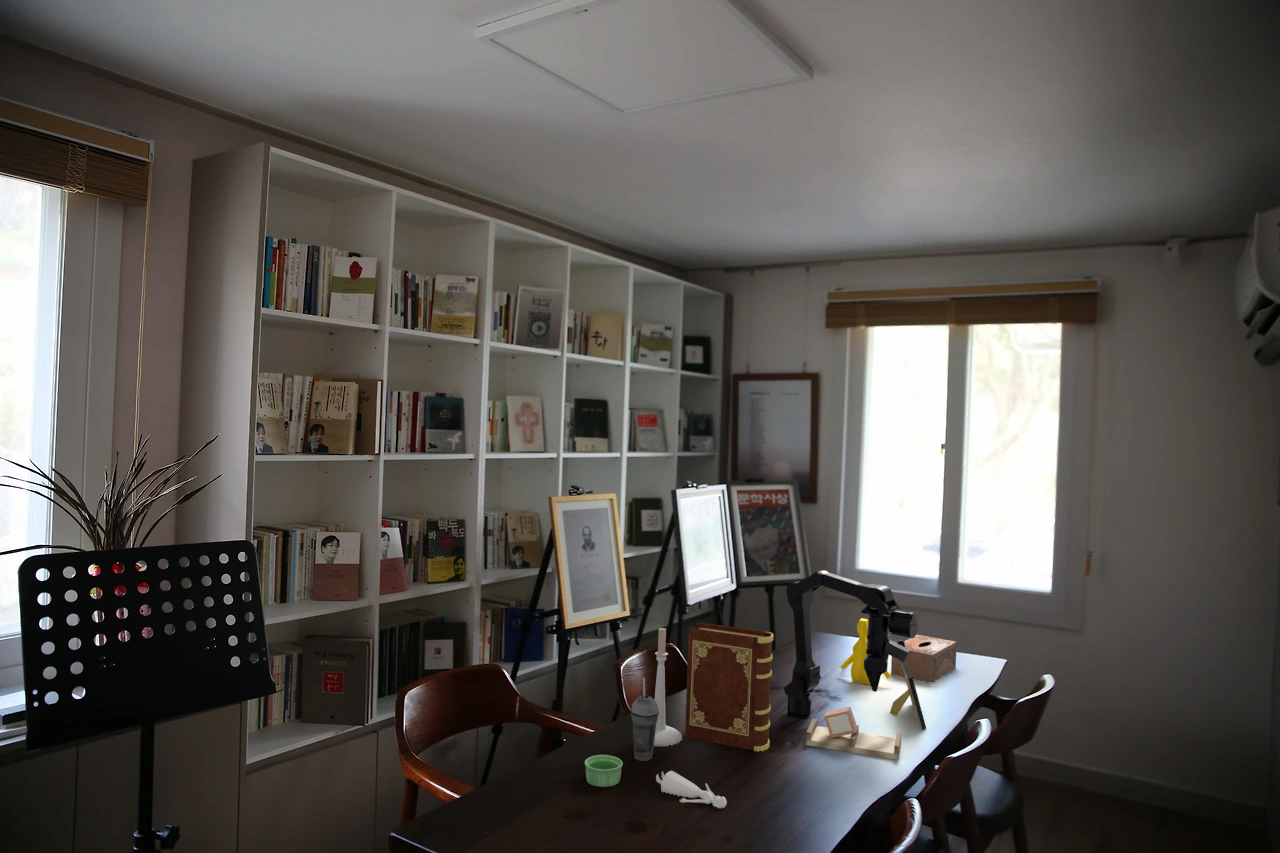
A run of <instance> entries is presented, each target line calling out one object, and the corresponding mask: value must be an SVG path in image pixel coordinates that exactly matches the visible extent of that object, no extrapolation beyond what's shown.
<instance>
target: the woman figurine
mask: <svg viewBox="0 0 1280 853" xmlns="http://www.w3.org/2000/svg"><path fill="white" fill-rule="evenodd" d="M655 778H656V779H655V782H657V783H658V784H660V788H661V792H662V793H664V792H665V794H668V793H669V794H668V795H672V794H673V795H672V796H675V795H677V796H676V797H680V796H682V797H681V799H680V800H679V802H680V803H693V804H694V803H696V804H698V803H701V804H706V805H710V804H712V806H713V807H714V806H715V807H717V808H716V809H725V807H726V806H727V802H728V801H727V799H726V797H724V796H720V795H715V794H714V792H713V791H712V790H711V789H710V787H709V785H708V783H705V788H706V790H702V789H701V788H700V787H699V786H697V785H696V784H695V783H693V782H692V781H691V780H688V779H687V778H685V777H684V776H682V775H680V774H678V773H677V772H675V771H674V770H670V771H667V772H666V773H665V772H664V771H661V778H662V779H661V778H660V776H659V773H658V774H656V776H655ZM687 797H688V799H686V798H687ZM689 798H690V799H689ZM696 798H700V799H696ZM715 807H714V808H715Z"/></svg>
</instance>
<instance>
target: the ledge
mask: <svg viewBox="0 0 1280 853" xmlns="http://www.w3.org/2000/svg"><path fill="white" fill-rule="evenodd" d="M856 725H857V732H856V733H853V734H849V735H844V736H839V737H834V738H831V737H830V733H829V730H828V727H827V726H826V727H825V726H818V718H812V720H811V722H810V724H809V726H808V728H807V730H806V738H805V745H806V746H810V747H816V748H821V749H826V750H827V749H828V750H834V751H841V752H845V753H846V752H847V753H853V754H859V755H866V756H872V757H878V758H884V759H891V760H897V761H900V757H901V756H900V755H901V748H902V735H903V734H902V733H903V732H902V731H899V730H897V731H896V736H895V737H892V736H885V735H879V734H872V733H864V732H860V731H859V729H860V728H859V727H860V725H859V724H856Z"/></svg>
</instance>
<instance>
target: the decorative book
mask: <svg viewBox="0 0 1280 853" xmlns="http://www.w3.org/2000/svg"><path fill="white" fill-rule="evenodd" d="M773 641H774V633H772V632H771V631H762V630H755V629H749V628H748V629H747V628H742V627H741V628H740V627H735V626H733V627H732V626H726V625H721V624H712V623H703V622H698V623H697V628H695V627H688V641H687V642H688V646H687V665H686V666H687V672H686V674H687V676H686V697H685V698H686V699H685V700H686V702H685V723H684V724H685V725H684V726H685V727H684V728H685V729H684V730H685V731H684V732H685V733H684V734H685V735H684V736H685V738H689V739H694V740H697V741H702V742H708V743H711V744H712V743H714V744H717V745H724V746H728V747H733V748H737V747H738V749H742V748H743V750H747V749H748V750H749V751H753V750H754V751H753V752H756V751H757V753H760V752H759V751H762V752H765V751H767V750H768V749H769V748H770V745H771V744H770V743H771V742H770V739H769V729H770V727H771V720H770V712H771V710H772V706H771V705H772V704H770V700H771V677H772V675H773V670H772V668H771V667H772V660H773V659H774V658H773V653H772V645H773V644H772V643H773ZM764 750H765V751H764Z"/></svg>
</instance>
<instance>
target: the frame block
mask: <svg viewBox="0 0 1280 853" xmlns="http://www.w3.org/2000/svg"><path fill="white" fill-rule="evenodd" d="M823 718H824V721H825V724H826V727H827V728H828V730H829V733H830V737H831V738H834V737H839V736H844V735H849V734H853V733H856V732H857V725H858V724H857V723H856V722H857V721H856V719H855V716H854V713H853V711H852V707H851V706H847V707H846V706H845V707H841V708H838V709H833V710H828V711H825V712H824V715H823Z"/></svg>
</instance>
